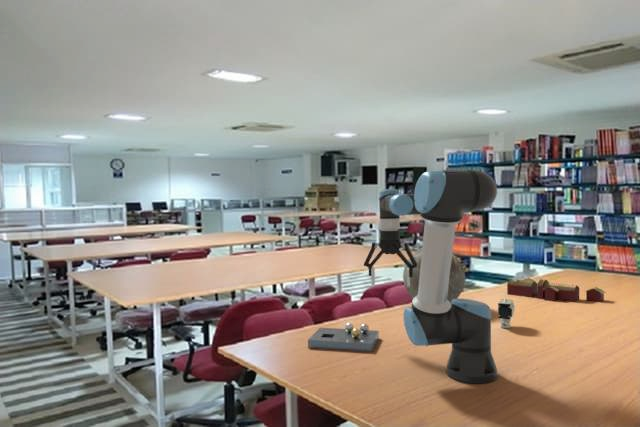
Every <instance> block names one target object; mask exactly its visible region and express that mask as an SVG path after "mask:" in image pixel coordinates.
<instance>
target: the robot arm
mask: <svg viewBox="0 0 640 427" xmlns="http://www.w3.org/2000/svg"><path fill="white" fill-rule="evenodd" d="M414 187H415V188H414V192H413V193H400V191H399V189H398V188H397V189H396V188H394V189H393V188H391V189H385V188H384V189H380V191H379V197H378V201H379V202H378V203H379V204H378V205H379V229H380V231H379V242H376V241H373V242H372V243H371V248H370V249H369V250H370V251H369V252H368V255H367V256H366V258H365V261H364V262H363V266H364V267H367V268H368V276H369V277H371V283H370V284H371V286H375V284H376V283H375V282H376V278H375V277H376V275H375V273H376V272H375V271H376V270H375V267H374V265H375V264H376V263H377V262H378V261H379V259H380V258H381V257H382V255H384V254H385V255H395V254H396V255H397V256H398V257H399V258H400V259H401V261H402V262H403V263H404V264H405V265H407V266H408V269H407V286H410V277H412V276H413V268H415V267H417V266H418V264H417V262H416V260H415V259H414V257H413V253H412V251H411V249H410V245H409V242H401V232H400V230H399V229H401V225H400V224H401V222H400V216H403V217H404V216H413V215H419V216H420V218H421V219H422V220H423V222H424V226H423V228H424V229H423V236H422V237H423V240H422V248H421V249H422V257H421V267H420V278H419V288H418V295H417V296H416V297H414V298H413V299H412V301H411V306H408V307H405V308H404V310H403V323H404V328H405V332H406V335H407V337H408V339H409V341H410V342H411V344H412V345H414V346H415V347H416V346H417V347H419V346H420V347H422V346H423V347H428V346H439V345H450V344H451V351H450V354H449V356H448V360H447V363H446V369H445V370H446V375H447V376H448V377H450V378H451V379H454V380H455V381H459V382H463V383H469V384H487V383H492V382H494V381H496V380H497V379H498V368H497V365H496V361H495V358H494V356H493V354H492V323H491V322H492V321H491V320H492V314H491V307H490V306H489V305H488V304H487V303H484V302H483V301H478V300H473V299H470V298H469V299H467V298H461V297H460V298H459V297H458V298H456V299H452V301H451V303H450V302H449V301H448V300H447V294H448V286H449V277H450V268H451V260H452V254H453V251H454V242H455V234H456V233H455V232H456V226H457V225H458V224H459V223H460V222H462V220H463V214H464V212H474V211H475V212H476V211H481V210H484V209H486V208H488V207H490V206H491V205H492V204H493V203H494V202H495V200H496V198H497V194H498V187H497V184H496V182H495V179H494V178H493V177H492V176H491V175H489V174H488V173H487V172H484V171H481V170H477V169H459V170H458V169H437V170H428V171H425V172H423V173H422V174H421V175H420V176H419V178H418V180H417V181H416V183H415V186H414ZM378 247H379V248H380V251H379V252H378V254H376V256H375V257H374V258H373V259H372V257H373V255H374V253H375V251H376V249H377V248H378ZM401 247H402V248H403V249H404V250H405V253H406V255H407V256H408V257H409V258H410V260H411V262H412V264H413V265H412V264H411V263H410V262H409V261H408V260H409V259H408V258H406V256H405V255H404V254H403V253H402V251H401V250H400V249H401ZM371 259H372V260H371Z"/></svg>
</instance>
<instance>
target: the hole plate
mask: <svg viewBox="0 0 640 427" xmlns="http://www.w3.org/2000/svg"><path fill="white" fill-rule="evenodd" d="M359 330H360V329H359ZM351 332H352V331H351ZM351 332H348V331H346V329H345V328H334V327H332V328H331V327H319V328H318V329H317V330H316V331H315V332H314V333H313V334H312V335H311V336H310V337H309V338H308V339H307V348H308V349H320V350H321V349H322V350H333V351H334V350H336V351H350V352H353V351H354V352H365V353H366V352H367V353H372V352H373V350H374V348H375V346H376V345H377V343H378V341H379V337H380V336H379V335H380V334H379V333H380V332H379V330H370V329H369V330H368V332H366V333H363V332H361V330H360V336H359V337H357V338H355V337H353V336H352V334H351Z"/></svg>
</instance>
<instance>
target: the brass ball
mask: <svg viewBox="0 0 640 427" xmlns="http://www.w3.org/2000/svg"><path fill="white" fill-rule="evenodd" d="M351 334H352V336H353V337H355V338H357V337H359V336H360V328H355V327H354V329H353V330H352V332H351Z"/></svg>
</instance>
